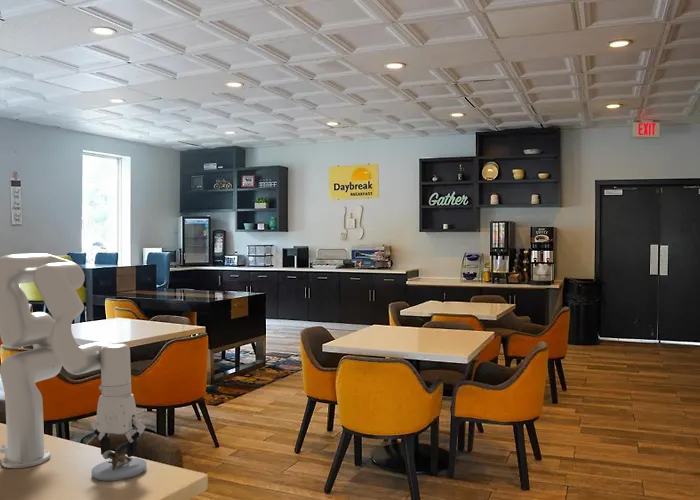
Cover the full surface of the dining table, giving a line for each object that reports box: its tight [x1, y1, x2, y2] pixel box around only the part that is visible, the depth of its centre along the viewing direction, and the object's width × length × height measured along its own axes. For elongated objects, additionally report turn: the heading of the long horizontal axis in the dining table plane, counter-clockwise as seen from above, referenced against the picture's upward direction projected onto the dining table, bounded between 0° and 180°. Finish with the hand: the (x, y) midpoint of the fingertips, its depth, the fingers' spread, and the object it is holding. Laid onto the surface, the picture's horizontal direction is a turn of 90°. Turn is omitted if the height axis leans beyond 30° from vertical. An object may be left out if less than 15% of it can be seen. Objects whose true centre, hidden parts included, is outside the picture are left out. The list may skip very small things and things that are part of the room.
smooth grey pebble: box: [90, 457, 147, 481], centre depth 169 cm, size 14×14×2 cm
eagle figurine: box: [102, 439, 140, 470], centre depth 170 cm, size 8×7×9 cm
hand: (118, 454), depth 169 cm, fingers open, 7 cm apart
